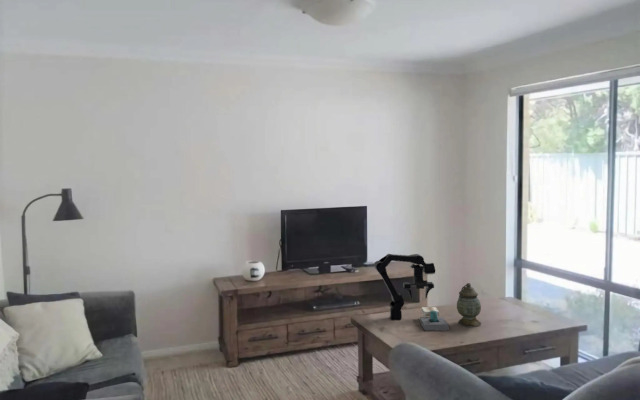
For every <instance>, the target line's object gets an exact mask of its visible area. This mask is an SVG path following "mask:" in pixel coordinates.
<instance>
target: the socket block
mask: <svg viewBox="0 0 640 400" xmlns="http://www.w3.org/2000/svg"><path fill="white" fill-rule="evenodd" d="M419 319H420V320H419V323H420V325H421V327H422V329H423V330H424V331H449V323H448V322H447V320H446V318H445V317H444V316H437V322H430V316H420V317H419Z"/></svg>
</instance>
